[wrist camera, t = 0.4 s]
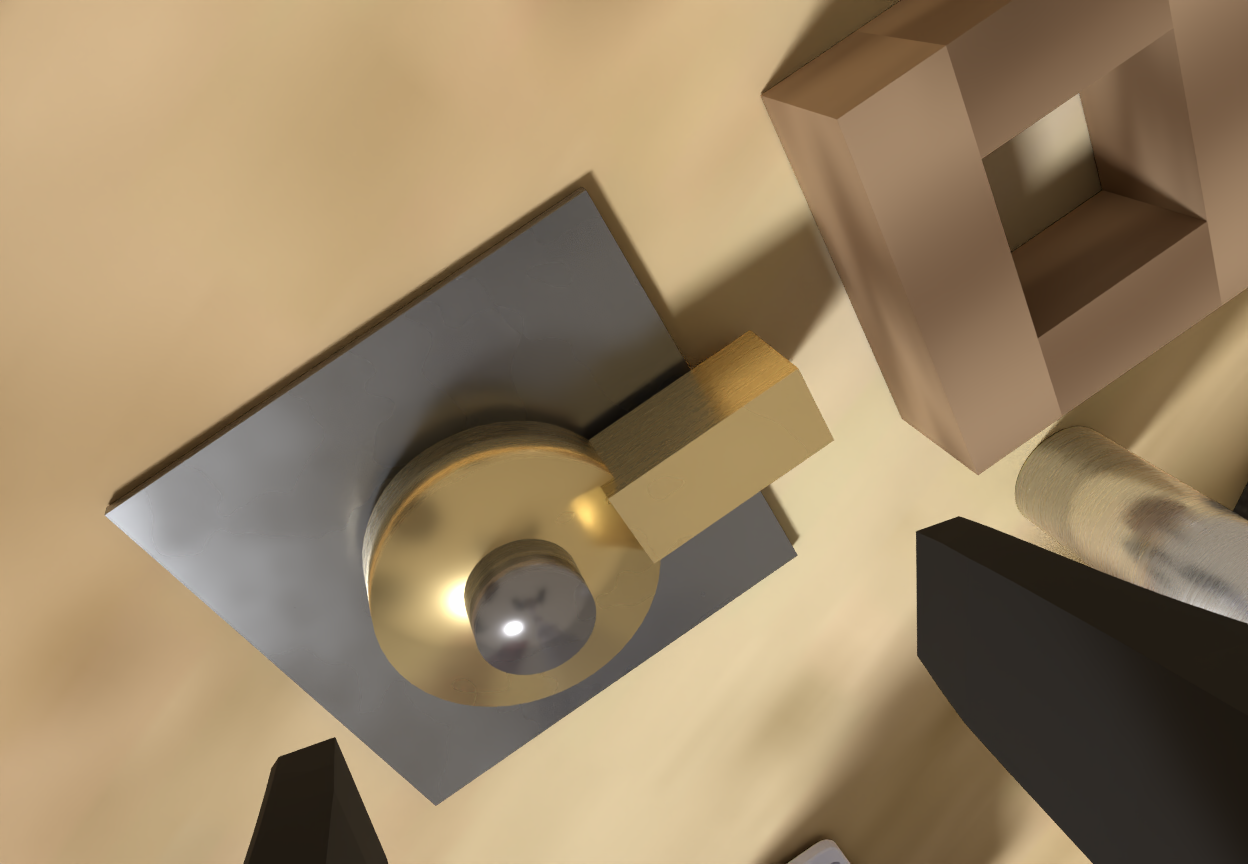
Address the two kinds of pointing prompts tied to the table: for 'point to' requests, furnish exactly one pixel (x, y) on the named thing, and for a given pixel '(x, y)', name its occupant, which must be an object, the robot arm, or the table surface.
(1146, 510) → the pin
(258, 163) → the table surface
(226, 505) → the plate
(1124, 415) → the table surface
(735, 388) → the ring nut
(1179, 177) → the socket block
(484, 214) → the table surface
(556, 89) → the table surface
